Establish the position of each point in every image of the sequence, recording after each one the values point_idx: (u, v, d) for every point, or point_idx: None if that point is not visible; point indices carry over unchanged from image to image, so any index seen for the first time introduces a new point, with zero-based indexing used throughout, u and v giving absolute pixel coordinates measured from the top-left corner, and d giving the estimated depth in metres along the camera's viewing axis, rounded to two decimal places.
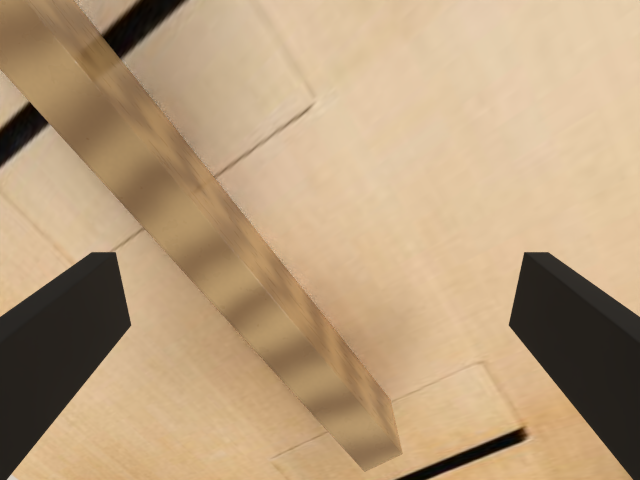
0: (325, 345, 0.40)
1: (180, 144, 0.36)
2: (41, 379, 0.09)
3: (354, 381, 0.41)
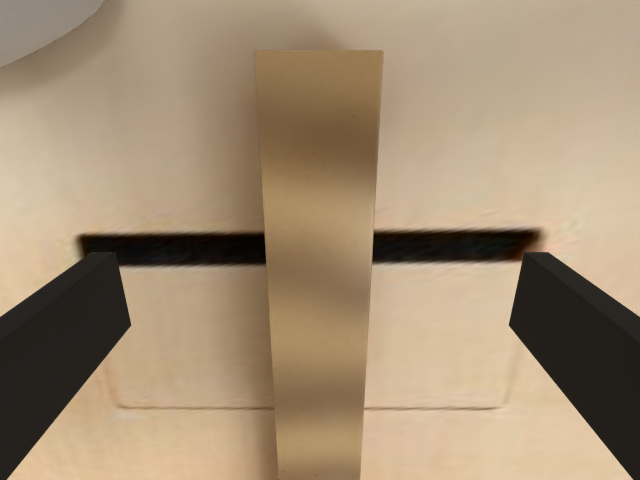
0: None
1: None
2: (41, 379, 0.09)
3: None
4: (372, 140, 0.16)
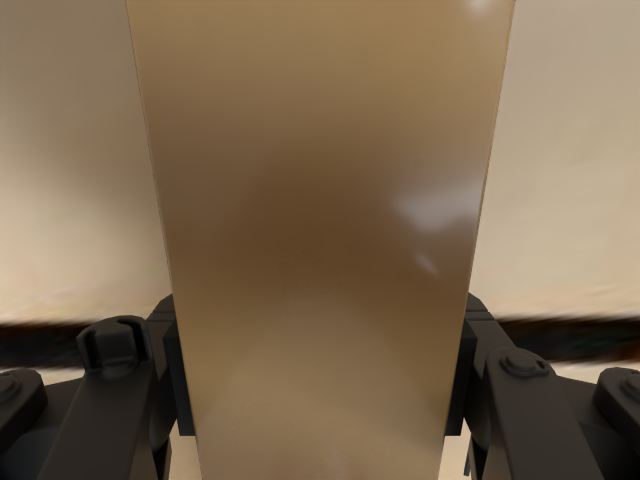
0: None
1: None
2: None
3: None
4: (464, 223, 0.06)
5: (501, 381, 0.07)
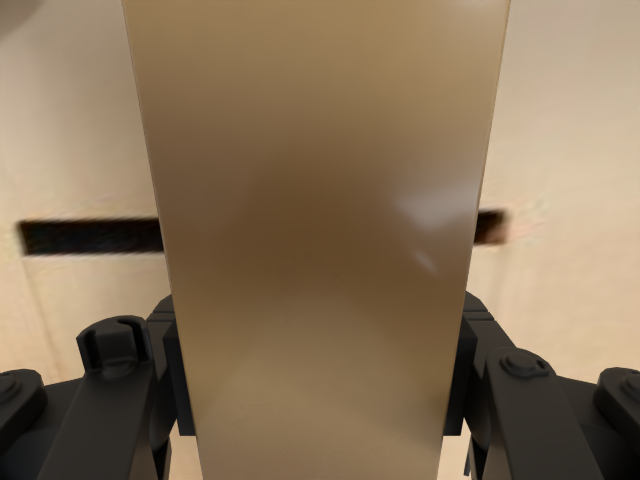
0: None
1: None
2: None
3: None
4: (461, 225, 0.06)
5: (501, 381, 0.07)
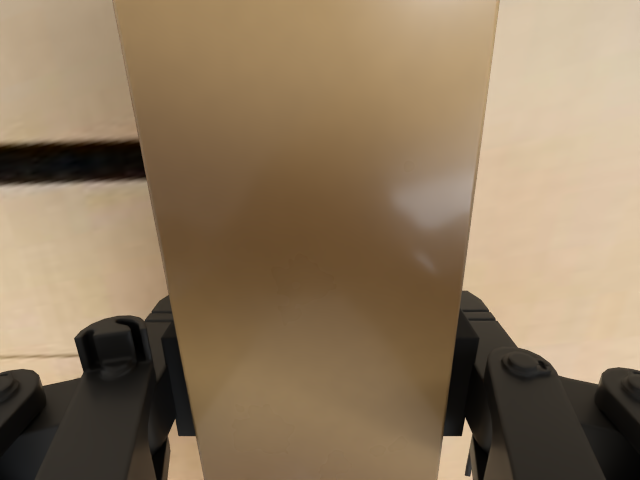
0: None
1: None
2: None
3: None
4: (455, 225, 0.06)
5: (502, 381, 0.07)
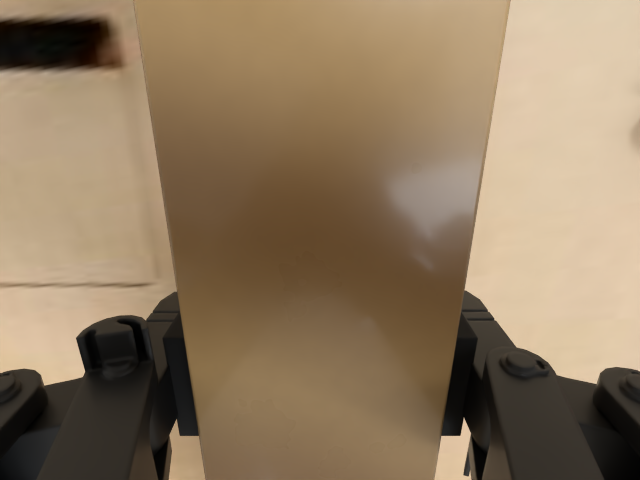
0: None
1: None
2: None
3: None
4: (460, 226, 0.06)
5: (501, 381, 0.07)
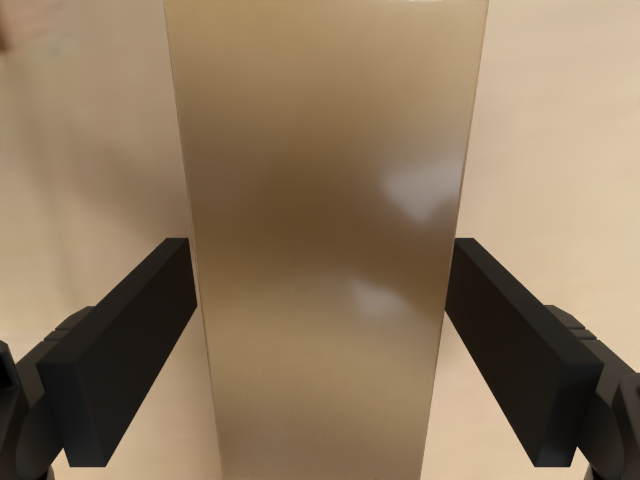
0: None
1: None
2: (145, 345, 0.10)
3: None
4: (446, 210, 0.07)
5: None
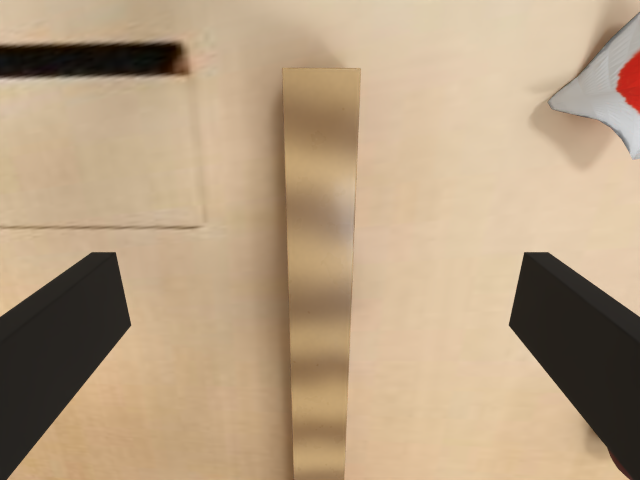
0: None
1: None
2: (41, 379, 0.09)
3: None
4: (354, 124, 0.25)
5: None
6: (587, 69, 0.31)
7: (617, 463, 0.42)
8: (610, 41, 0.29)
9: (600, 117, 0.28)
